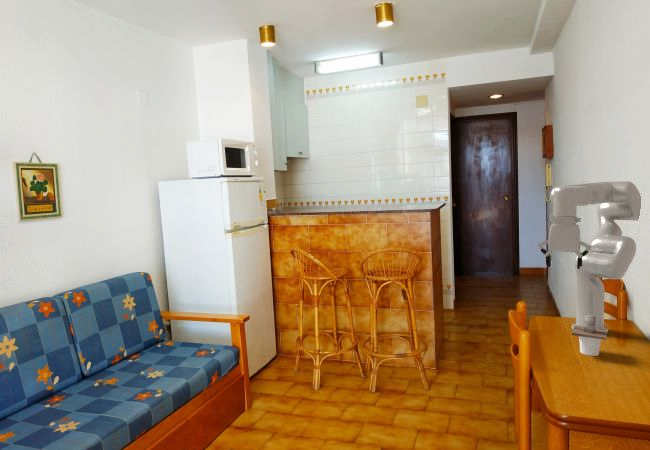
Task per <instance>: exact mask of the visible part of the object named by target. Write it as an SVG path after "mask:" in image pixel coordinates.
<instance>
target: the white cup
mask: <svg viewBox="0 0 650 450" xmlns="http://www.w3.org/2000/svg"><path fill="white" fill-rule="evenodd" d="M578 340H579V351H580V353H581V354H582V355H586V356H589V357H594V356H595V357H596V356H599V355H600V349H601V341H602V339H597V338H589V337H582V336H578Z"/></svg>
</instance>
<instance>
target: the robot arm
mask: <svg viewBox="0 0 650 450" xmlns="http://www.w3.org/2000/svg"><path fill="white" fill-rule="evenodd" d="M549 195H550V197H549V198H550V201H551V203H552V204H553V205H552V206H553V207H552V212H553V213H552V223H551V224H550V226H549V232H548V234H549V235H548V239H546V240H544V241H542V242H539V243H538V244H537V246H538V247H539V250H540V252H541V253H542V254H543V255H544V256H545V265H547V268H550V267H551V266H552V265H551V263H552V255H551V254H552V252H555V253H556V252H557V253H575V255H576V256H575V258H574V269H575V270H574V271H575V275H576V277H575V278H576V304H575V305H576V306H575V307H576V309H575V310H576V312H575V316H576V319H575V323H573V324H572V325H571V329H572V330H573V329H574V325H578V326H584V316H587V315H588V316H594V317H596V328H602V329H607V334H608V333H609V329H608V327H606V326H604V325H605V323H604V318H605V286H604V283H603V281H602V280H601V278H602V279H607V280H608V279H610V280H619V279H621V278H623V277H624V276H625V274H626V273H627V272H628V269H629V267H630V265H631V264H632V262H633V260H634V258H635V256H636V251H637V243H636V241H635V239H634V238H632V237H629V236H626V235H623V231H622V228H621V227H620V226H619V225H618V223H617V222H615V221H631V222H633V221H639V220H638V219H639V216H640V209H641V197H642V195H641V193H640V191H639V189H638V187H637V186H636V185H635V183H633V182H632V181H626V180H625V181H624V180H623V181H622V180H621V181H599V182H588V183H586V182H585V183H580V184H569V185H558V186H555V187H554V188H552V190H551V192H550V194H549ZM640 195H641V196H640ZM590 205H591V206H593V205H598V206H597V210H596V211H597V221H598V222H597V223H598V229H597V232H596V233H595V234H594V236H593V238H592V239H591V241H590V243H586V242H585V241H582V240H581V231H580V225H579V224H577V223H579V222H581V221H582V218H581V217H578V216H577V207H587V206H590ZM546 245H548V250H547V249H545V247H544V246H546ZM581 246H582V247H584V248H585V249H584V251H581Z"/></svg>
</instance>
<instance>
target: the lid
mask: <svg viewBox="0 0 650 450" xmlns="http://www.w3.org/2000/svg"><path fill="white" fill-rule="evenodd" d="M607 329H608V328H607ZM607 329H602V328H596V317H594V316H588V315H587V316H584V326H578V325H574V329H572V332H571V334H572V336H576V337H579V336H582V337H589V338H597V339H601V340H604V341H607V335H608V333H607Z"/></svg>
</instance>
